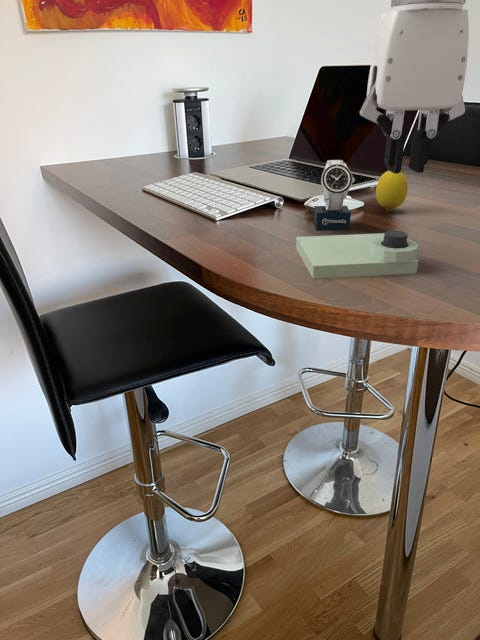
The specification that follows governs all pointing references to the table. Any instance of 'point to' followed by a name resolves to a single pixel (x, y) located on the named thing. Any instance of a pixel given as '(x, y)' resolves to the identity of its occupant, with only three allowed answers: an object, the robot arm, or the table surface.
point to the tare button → (395, 239)
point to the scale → (355, 256)
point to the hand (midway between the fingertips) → (404, 169)
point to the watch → (334, 198)
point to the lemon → (391, 190)
